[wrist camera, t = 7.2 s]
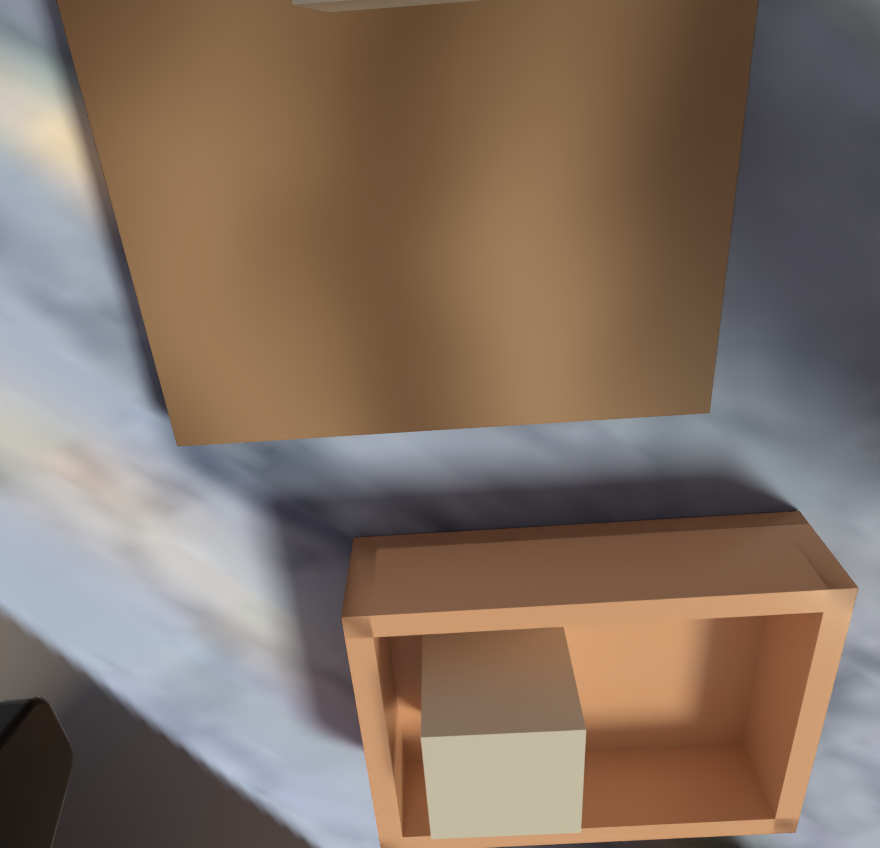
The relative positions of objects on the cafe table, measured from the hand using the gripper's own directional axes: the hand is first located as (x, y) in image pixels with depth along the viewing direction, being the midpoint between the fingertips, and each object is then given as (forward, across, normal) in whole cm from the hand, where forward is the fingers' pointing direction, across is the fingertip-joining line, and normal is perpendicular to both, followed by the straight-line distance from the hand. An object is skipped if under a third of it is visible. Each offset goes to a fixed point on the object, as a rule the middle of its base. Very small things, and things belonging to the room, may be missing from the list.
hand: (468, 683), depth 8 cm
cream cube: (+11, 0, +11) cm, 15 cm away
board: (+11, 0, -4) cm, 12 cm away
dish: (+11, -3, +11) cm, 16 cm away
